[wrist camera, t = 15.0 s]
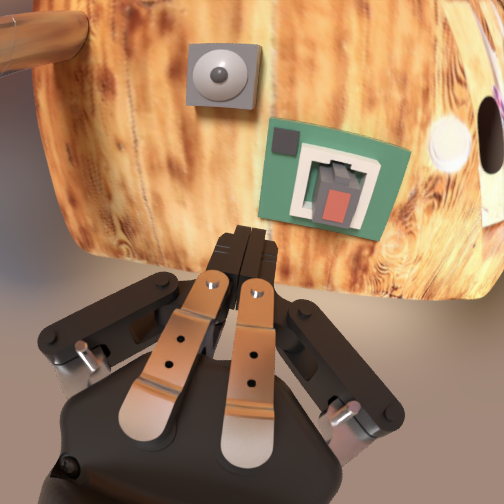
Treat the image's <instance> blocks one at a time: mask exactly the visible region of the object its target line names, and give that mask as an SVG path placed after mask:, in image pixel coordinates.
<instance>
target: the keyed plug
mask: <svg viewBox="0 0 504 504" xmlns="http://www.w3.org/2000/svg"><path fill="white" fill-rule="evenodd" d="M360 193H361V188H360V186H359V183H358V181H357V178H356V176H355V173H354V171H353V170H350V169H346V166H345V163H343V162H339V161H335V160H331V164H330V165H328V164H323V163H319V166H318V171H317V176H316V181H315V186H314V190H313V195H312V222H317V223H322V224H327V225H332V226H337V227H342V228H346V229H349V228H350V225H351V222H352V218H353V215H354V212H355V209H356V206H357V203H358V199H359V196H360Z"/></svg>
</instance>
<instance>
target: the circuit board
mask: <svg viewBox="0 0 504 504" xmlns="http://www.w3.org/2000/svg"><path fill="white" fill-rule="evenodd" d="M410 155H411V151H409V150H408V149H406V148H403V147H400V146H396V145H393V144H390V143H387V142H384V141H380V140H377V139H374V138H370V137H366V136H363V135H359V134H355V133H351V132H347V131H343V130H339V129H335V128H330V127H326V126H321V125H316V124H311V123H306V122H300V121H295V120H289V119H283V118H276V117H270V119H269V128H268V136H267V145H266V153H265V161H264V170H263V178H262V186H261V195H260V203H259V211H258V217H260V218H266V219H271V220H277V221H282V222H288V223H293V224H298V225H303V226H308V227H313V228H319V229H323V230H328V231H333V232H338V233H343V234H348V235H352V236H357V237H362V238H366V239H371V240H375V241H380V238H381V236H382V233H383V231H384V229H385V226H386V224H387V221H388V219H389V216H390V213H391V211H392V208H393V205H394V203H395V200H396V197H397V194H398V192H399V189H400V186H401V183H402V180H403V177H404V174H405V171H406V168H407V165H408V162H409V158H410ZM331 160H335V161H339V162H343V163H345V166H346V169H350V170H353V171H354V173H355V176H356V178H357V181H358V183H359V186H360V188H361V193H360V196H359V199H358V203H357V206H356V209H355V212H354V215H353V218H352V222H351V225H350V228H349V229H346V228H342V227H337V226H332V225H327V224H322V223H317V222H312V195H313V190H314V186H315V181H316V176H317V171H318V166H319V163H323V164H328V165H330V164H331Z"/></svg>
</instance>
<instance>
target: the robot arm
mask: <svg viewBox="0 0 504 504" xmlns="http://www.w3.org/2000/svg"><path fill="white" fill-rule="evenodd" d="M87 34H88V19H87V17H86V15H85V14H84V13H83V12H81V11H41V12H29V13H21V14H13V15H8V16H2V17H0V77H2V76H5V75H9V74H12V73H15V72H18V71H22V70H25V69H29V68H33V67H37V66H41V65H45V64H50V63H55V62H60V61H66V60H69V59H71V58H73V57H74V56H75V55H76V54H77V53H78V52H79V51H80V49H81V48H82V46H83V45H84V42H85V40H86V37H87ZM265 234H266V230H263V229H258V228H252V231H251V227H247V226H241V225H237V227H236V230H235V233H234V234H231V233H224V234H223V235H222V236H221V237H219V239H218V241H217V244H216V246H215V249H214V251H213V254H212V256H211V259H210V261H209V263H208V266H207V268H206V271H204V272H202V273H201V274H200V275H199V276H198V277H197V279H194V280H189V281H178V279H177V277H176V276H175V275H174V274H172V273H169V272H158V273H155V274H153V275H151V276H149V277H147V278H145V279H143V280H140V281H138V282H136V283H134V284H132V285H130V286H128V287H126V288H124V289H122V290H120V291H118V292H116V293H114V294H111V295H109V296H107V297H105V298H103V299H101V300H99V301H97V302H95V303H93V304H91V305H89V306H87V307H85V308H83V309H81V310H79V311H77V312H75V313H73V314H71V315H69V316H67V317H65V318H63V319H61V320H59V321H57V322H55V323H53V324H52V325H50V326H48V327H46V328H44V329H43V330H42V331H41V333H40V335H39V337H38V347H39V349H40V350H41V352H42V353H43V354H44V355H45V356H46V357H47V359H48V361H49V362H50V363H51V364H52V365H53V366H54V369H55V372H56V374H57V377H58V380H59V382H60V385H61V387H62V389H63V392H64V394H65V396H66V398H67V402H66V403H65V405H64V407H63V408H62V411H61V415H60V429H61V440H62V441H61V453H60V456H59V459H58V461H57V462H56V464H55V465H54V467H53V468H52V470H51V471H50V473H49V474H48V476H47V477H46V479H45V480H44V483H43V486H42V490H41V493H40V497H39V501H38V504H329V503H330V501H331V500H332V498H333V497H334V496H335V495H336V493H337V492H338V490H339V488H340V485H341V482H342V467H343V466H344V465H345V464H347V463H348V462H349V461H351V460H352V459H353V458H354V457H356V456H357V455H358V454H359V453H360V452H362V451H363V450H364V449H365V448H367V447H368V446H369V445H370V444H371V443H372V442H373V441H375V440H377V439H379V438H381V437H383V436H385V435H387V434H389V433H391V432H393V431H395V430H397V429H399V428H400V427H401V425H402V424H403V422H404V418H405V412H404V408H403V407H402V405H401V404H400V402H399V401H398V400H397V399H396V398H395V396H394V395H393V394H392V393H391V392H390V390H389V389H388V388H387V387H386V386H385V385H384V383H383V382H382V381H381V380H380V379H379V377H378V376H377V375H376V374H375V373H374V371H373V370H372V369H371V368H370V367H369V366H368V364H367V363H366V362H365V361H364V360H363V358H362V357H361V356H360V355H359V354H358V353H357V351H356V350H355V349H354V348H353V347H352V346H351V344H350V343H349V342H348V341H347V340H346V339H345V337H344V336H343V335H342V334H341V333H340V332H339V330H338V329H337V328H336V327H335V326H334V325H333V323H332V322H331V321H330V320H329V319H328V318H327V316H326V315H325V314H324V313H323V312H322V311H321V310H320V308H319V307H318V306H317V305H316V304H314V303H313V302H311V301H309V300H304V299H299V300H296V301H294V302H289V301H287V300H285V299H283V298H282V297H280V296H279V295H278V294H277V293H276V291H275V289H274V278H275V270H276V262H277V253H278V248H277V245H276V243H275V242H274V241H269V240H265ZM236 300H237V302H236ZM235 304H236V310H238V317H237V324H236V331H235V339H234V346H233V353H232V360H214V359H213V356H214V352H215V350H216V347H217V344H218V341H219V339H220V336H221V333H222V330H223V328H224V325H225V322H226V318H227V315H228V311H229V309H233V310H234V308H235ZM156 342H157V344H156V346H155V348H154V350H153V351H151V352H148V353H146V354H143V355H142V356H140V357H138V358H137V359H135V360H133V361H132V362H130V363H128V364H127V365H125V366H123V367H122V368H120V369H118V370H117V371H115V372H113V373H111V374H110V372H111V367H113V366H114V365H116V364H118V363H120V362H122V361H124V360H125V359H127V358H129V357H131V356H133V355H134V354H136V353H138V352H140V351H142V350H143V349H145V348H147V347H149V346H151V345H152V344H154V343H156ZM275 346H276V349H277V351H278V352H279V354H280V356H281V357H282V358H283V360H284V361H285V363H286V364H287V365H288V367H289V368H290V369H291V371H292V372H293V374H294V375H295V376H296V378H297V379H298V380H299V382H300V383H301V385H302V386H303V387H304V389H305V390H306V391H307V393H308V394H309V395H310V397H311V398H312V399H313V401H314V402H315V403H316V405H317V406H318V407H319V409H320V410H321V411H322V412H321V414H320V415H319V419H318V425H319V427H320V429H321V431H322V434H323V437H322V435H321V434H320V433H319V431H318V430H317V428H316V427H315V425H314V424H313V423H312V421H311V420H310V418H309V417H308V415H307V414H306V412H305V411H304V409H303V408H302V406H301V405H300V403H299V402H298V400H297V399H296V397H295V396H294V394H293V393H292V391H291V390H290V388H289V387H288V386H287V385H286V383H285V382H284V381H282V380H281V379H280V378H279V377H277V376H276V375H274V370H275Z"/></svg>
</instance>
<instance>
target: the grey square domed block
mask: <svg viewBox="0 0 504 504" xmlns="http://www.w3.org/2000/svg"><path fill="white" fill-rule="evenodd" d="M261 50H262V47H261V46H260V45H254V44H233V43H206V44H189V54H188V70H187V93H186V106H211V107H227V108H239V109H249V110H252V109H254V108H255V107H256V97H257V87H258V78H259V68H260V59H261Z"/></svg>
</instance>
